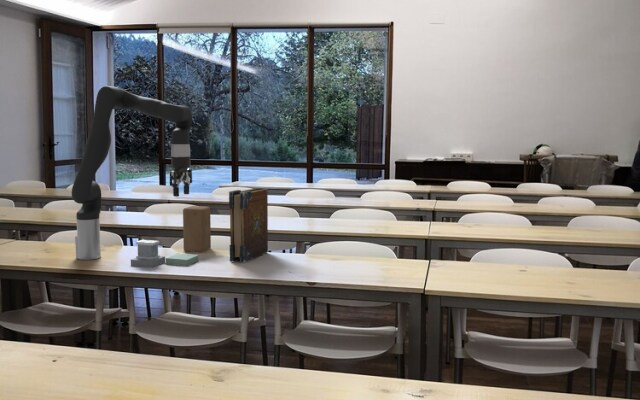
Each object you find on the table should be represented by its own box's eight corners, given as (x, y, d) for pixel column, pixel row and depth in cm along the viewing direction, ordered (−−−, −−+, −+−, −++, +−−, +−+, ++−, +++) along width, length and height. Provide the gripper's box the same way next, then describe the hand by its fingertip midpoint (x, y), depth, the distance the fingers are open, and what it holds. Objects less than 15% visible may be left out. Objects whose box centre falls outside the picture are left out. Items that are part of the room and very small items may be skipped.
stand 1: (130, 265, 246) (130, 259, 246) (144, 260, 256) (144, 254, 256) (152, 267, 244) (152, 261, 243) (165, 262, 253) (165, 256, 253)
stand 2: (165, 264, 250) (165, 258, 249) (177, 259, 259) (177, 253, 259) (187, 265, 247) (187, 259, 247) (198, 260, 257) (198, 254, 256)
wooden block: (203, 252, 273) (202, 209, 270) (182, 251, 275) (182, 208, 272) (211, 248, 283) (211, 206, 280) (191, 247, 285) (191, 205, 282)
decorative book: (244, 263, 253) (243, 192, 249) (229, 261, 256) (228, 191, 252) (270, 252, 274) (270, 187, 271) (256, 251, 277) (256, 186, 274)
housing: (136, 258, 248) (135, 241, 247) (142, 256, 253) (142, 239, 252) (153, 259, 246) (153, 243, 245) (159, 257, 251) (159, 240, 250)
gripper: (181, 154, 250) (181, 193, 252) (163, 156, 237) (164, 196, 239) (197, 154, 248) (198, 193, 250) (180, 156, 235) (181, 197, 236)
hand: (181, 195), depth 244 cm, fingers open, 8 cm apart
